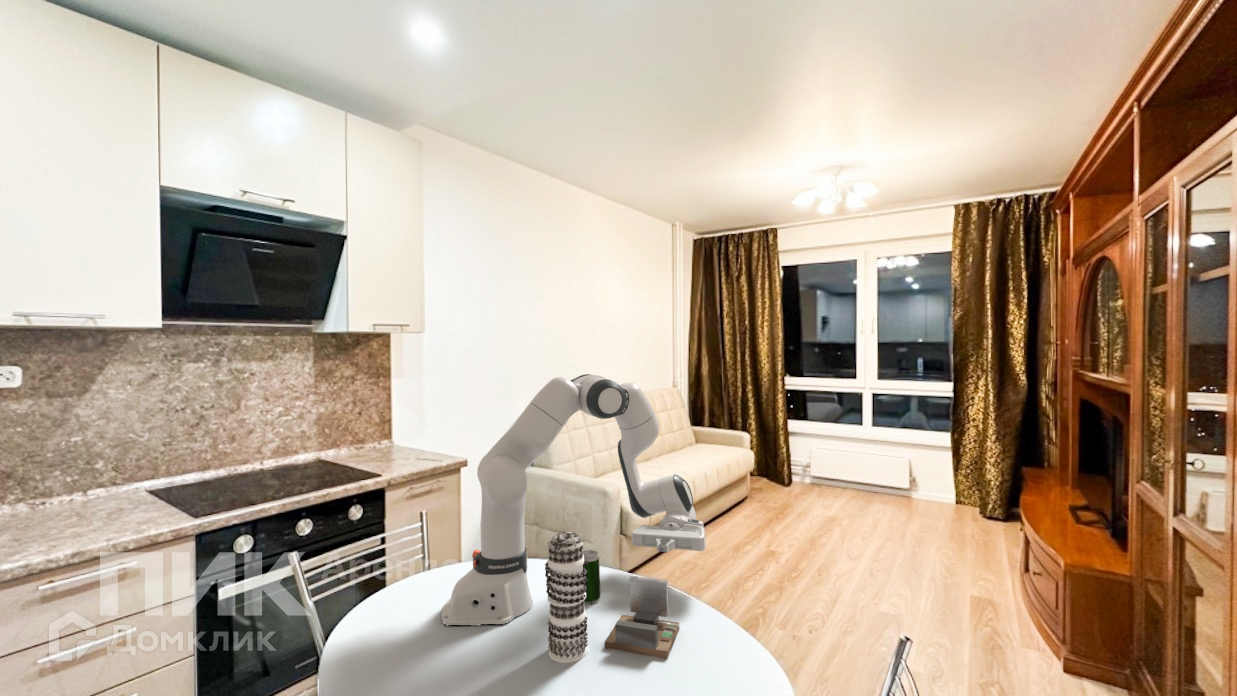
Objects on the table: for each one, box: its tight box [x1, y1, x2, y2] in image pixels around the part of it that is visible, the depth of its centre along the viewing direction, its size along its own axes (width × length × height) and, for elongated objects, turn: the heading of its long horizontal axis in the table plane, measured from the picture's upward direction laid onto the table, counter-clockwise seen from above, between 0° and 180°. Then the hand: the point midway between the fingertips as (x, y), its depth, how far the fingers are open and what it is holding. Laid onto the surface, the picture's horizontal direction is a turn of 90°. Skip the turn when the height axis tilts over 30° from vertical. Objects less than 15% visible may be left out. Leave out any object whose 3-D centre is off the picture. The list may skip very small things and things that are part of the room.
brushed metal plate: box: [628, 575, 680, 628], centre depth 119 cm, size 5×12×9 cm, turn 71°
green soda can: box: [583, 549, 601, 605], centre depth 135 cm, size 5×5×12 cm
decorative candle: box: [544, 531, 589, 664], centre depth 112 cm, size 9×9×25 cm
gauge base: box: [604, 614, 680, 660], centre depth 116 cm, size 12×14×6 cm
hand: (662, 548), depth 133 cm, fingers closed
